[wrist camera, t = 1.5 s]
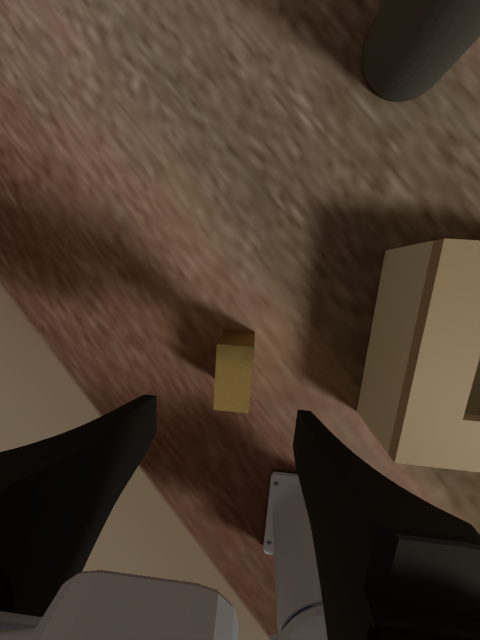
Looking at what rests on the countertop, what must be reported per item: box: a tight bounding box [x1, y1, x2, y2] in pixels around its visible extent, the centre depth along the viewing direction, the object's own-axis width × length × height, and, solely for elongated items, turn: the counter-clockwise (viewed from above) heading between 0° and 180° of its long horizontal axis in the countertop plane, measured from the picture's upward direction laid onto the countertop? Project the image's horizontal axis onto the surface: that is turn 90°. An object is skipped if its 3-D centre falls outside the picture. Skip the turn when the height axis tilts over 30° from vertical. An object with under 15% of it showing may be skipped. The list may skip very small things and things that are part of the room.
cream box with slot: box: [357, 238, 480, 472], centre depth 17 cm, size 14×11×6 cm
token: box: [213, 330, 255, 413], centre depth 19 cm, size 5×3×5 cm, turn 176°
